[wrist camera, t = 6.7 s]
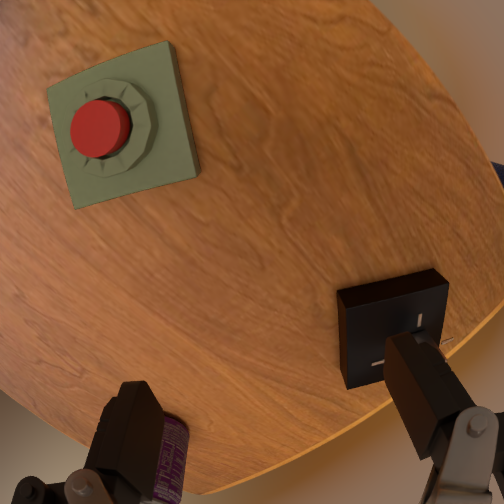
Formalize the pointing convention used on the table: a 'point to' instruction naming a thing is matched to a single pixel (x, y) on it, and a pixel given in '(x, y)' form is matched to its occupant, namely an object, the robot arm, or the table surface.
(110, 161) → the switch
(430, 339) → the rotary knob
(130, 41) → the table surface
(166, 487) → the beverage can
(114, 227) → the table surface
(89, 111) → the button
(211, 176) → the table surface
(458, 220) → the table surface
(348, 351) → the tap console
